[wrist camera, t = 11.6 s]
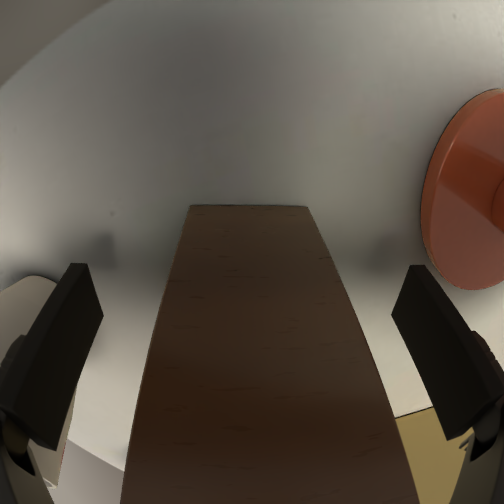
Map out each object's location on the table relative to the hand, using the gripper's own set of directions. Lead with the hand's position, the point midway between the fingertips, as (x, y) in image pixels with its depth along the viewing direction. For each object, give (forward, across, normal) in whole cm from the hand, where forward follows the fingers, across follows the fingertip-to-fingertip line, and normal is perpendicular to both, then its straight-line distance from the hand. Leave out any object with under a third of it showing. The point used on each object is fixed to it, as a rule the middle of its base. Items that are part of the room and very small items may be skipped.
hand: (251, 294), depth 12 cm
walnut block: (+3, 0, 0) cm, 3 cm away
